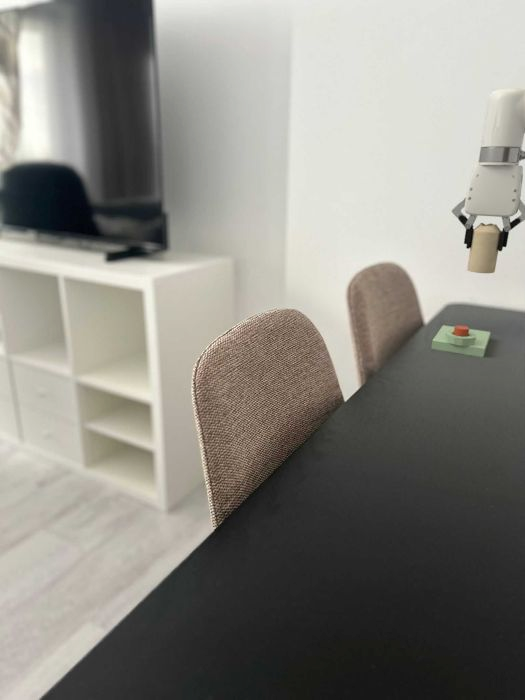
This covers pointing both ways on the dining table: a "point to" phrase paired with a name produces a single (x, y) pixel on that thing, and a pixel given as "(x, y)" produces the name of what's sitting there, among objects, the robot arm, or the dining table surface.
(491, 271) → the candle
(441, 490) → the dining table surface
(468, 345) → the green stand
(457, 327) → the power button
